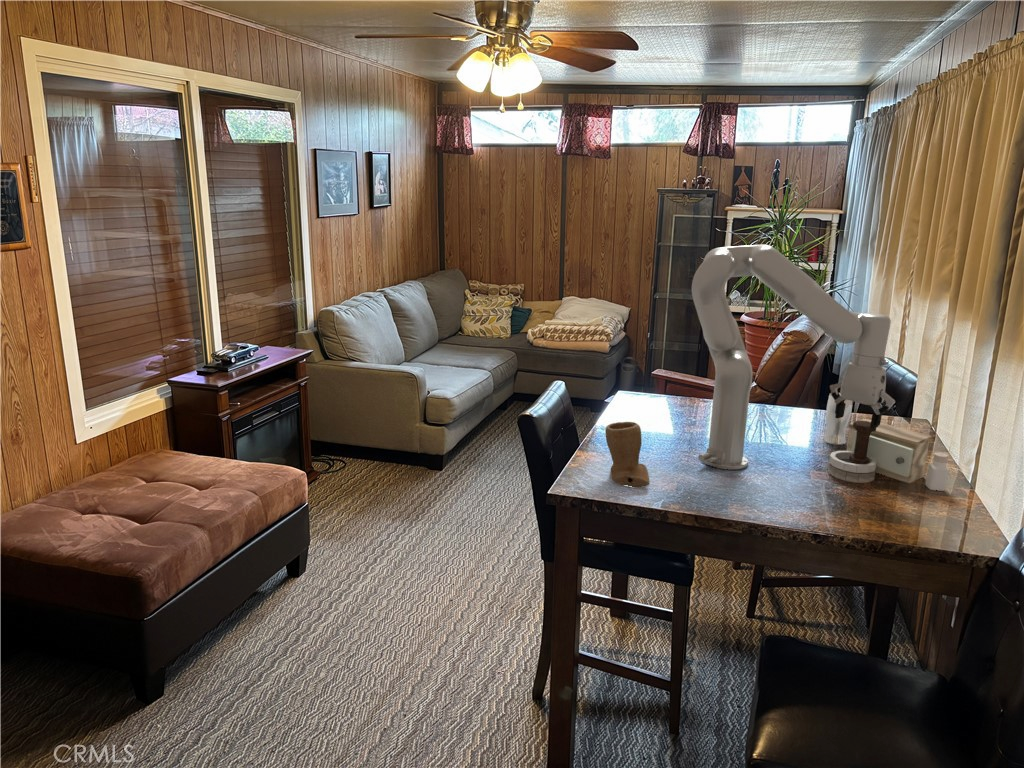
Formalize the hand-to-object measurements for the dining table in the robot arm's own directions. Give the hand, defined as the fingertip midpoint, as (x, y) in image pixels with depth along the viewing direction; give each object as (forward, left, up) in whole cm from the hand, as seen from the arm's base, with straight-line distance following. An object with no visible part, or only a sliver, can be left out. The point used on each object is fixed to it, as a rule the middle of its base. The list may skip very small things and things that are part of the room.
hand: (856, 422), depth 196 cm
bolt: (+1, -2, -15) cm, 15 cm away
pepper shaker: (+10, -19, -15) cm, 26 cm away
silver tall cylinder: (+22, +17, -15) cm, 32 cm away
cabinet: (+5, -4, -15) cm, 16 cm away
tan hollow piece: (-53, +34, -15) cm, 64 cm away
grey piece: (0, -4, -12) cm, 13 cm away
